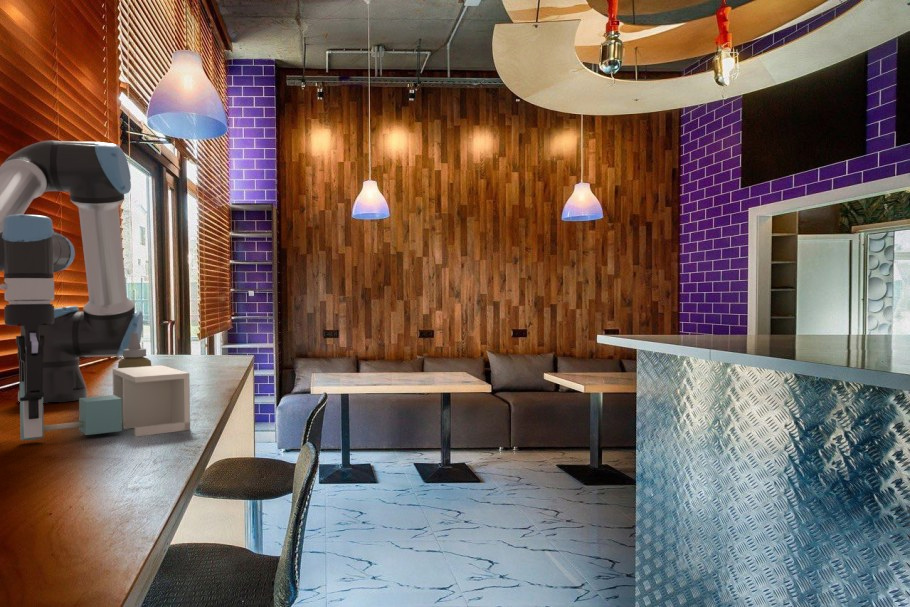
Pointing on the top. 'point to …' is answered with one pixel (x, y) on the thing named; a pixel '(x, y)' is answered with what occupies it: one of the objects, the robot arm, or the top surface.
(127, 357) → the squeeze bottle
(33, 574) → the top surface
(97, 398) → the teal block
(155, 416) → the cream cubby shelf
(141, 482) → the top surface
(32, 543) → the top surface
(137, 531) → the top surface
